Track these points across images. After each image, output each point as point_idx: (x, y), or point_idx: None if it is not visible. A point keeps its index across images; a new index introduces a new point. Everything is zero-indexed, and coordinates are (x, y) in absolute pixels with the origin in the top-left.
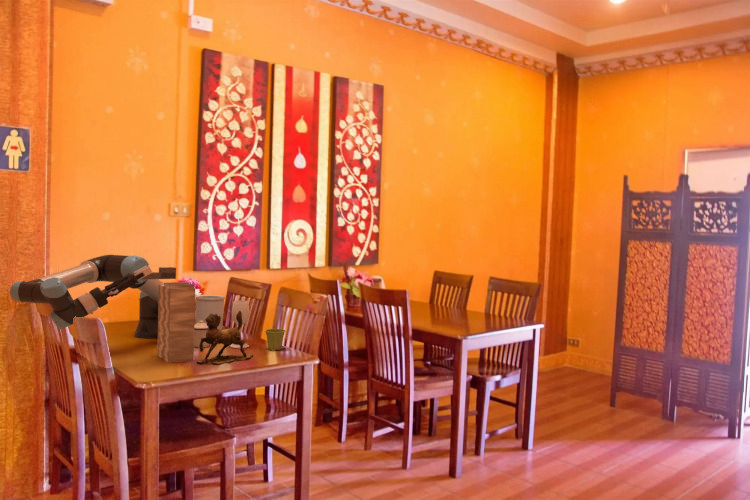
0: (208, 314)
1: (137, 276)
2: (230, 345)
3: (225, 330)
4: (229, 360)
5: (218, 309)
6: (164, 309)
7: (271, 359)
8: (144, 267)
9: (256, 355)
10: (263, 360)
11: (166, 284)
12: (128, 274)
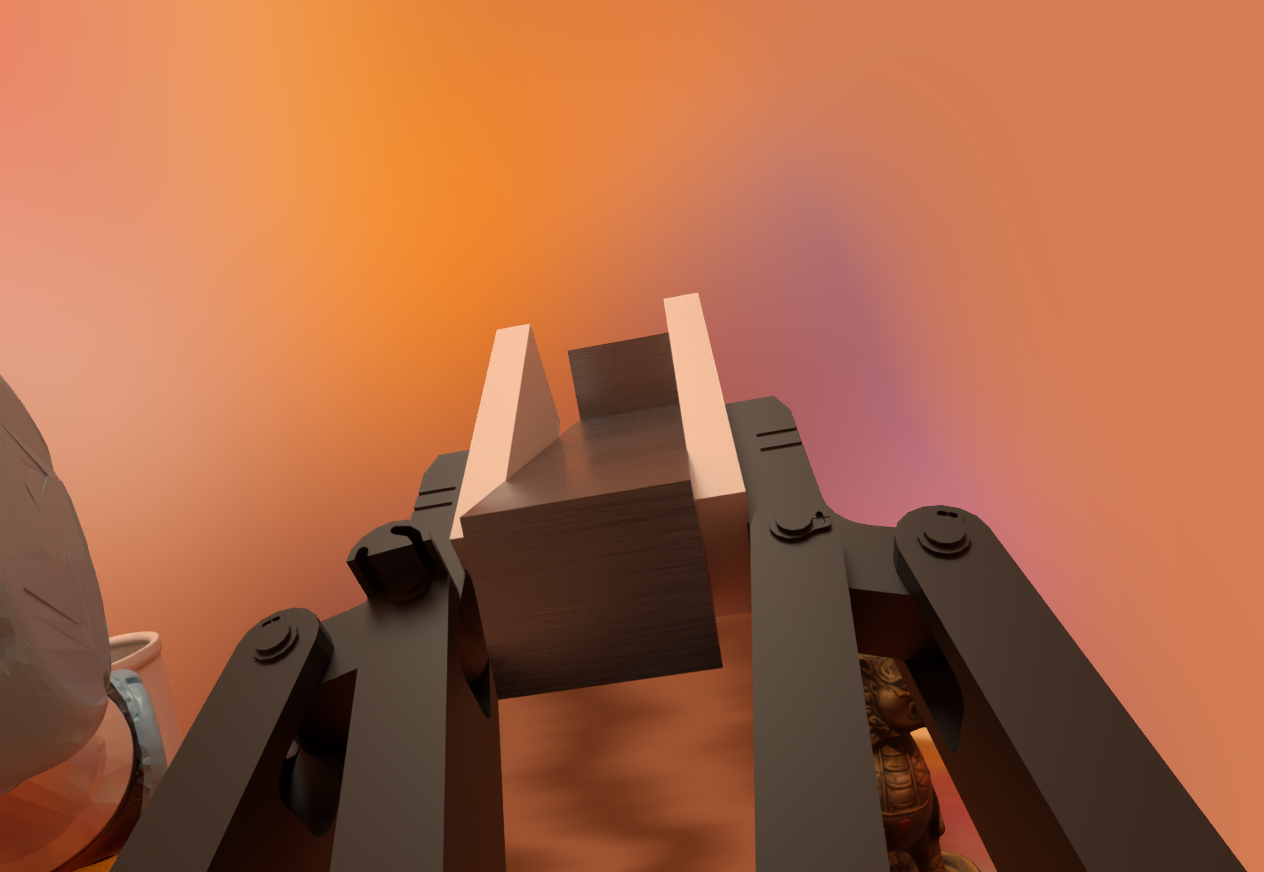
0: None
1: (817, 498)
2: None
3: None
4: (952, 865)
5: (166, 701)
6: (637, 844)
7: (917, 730)
8: (527, 354)
9: None
10: (935, 753)
11: None
12: (561, 548)
